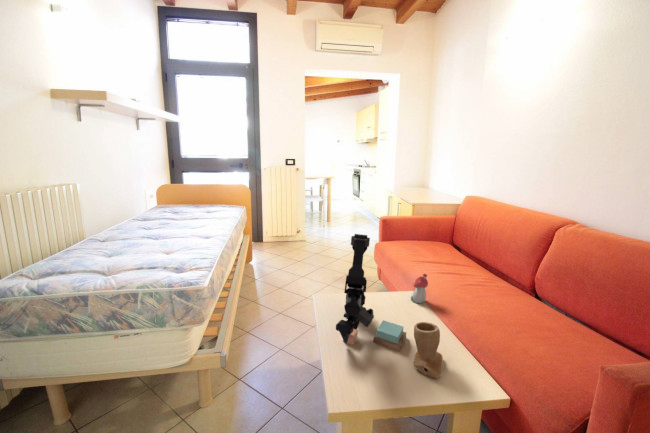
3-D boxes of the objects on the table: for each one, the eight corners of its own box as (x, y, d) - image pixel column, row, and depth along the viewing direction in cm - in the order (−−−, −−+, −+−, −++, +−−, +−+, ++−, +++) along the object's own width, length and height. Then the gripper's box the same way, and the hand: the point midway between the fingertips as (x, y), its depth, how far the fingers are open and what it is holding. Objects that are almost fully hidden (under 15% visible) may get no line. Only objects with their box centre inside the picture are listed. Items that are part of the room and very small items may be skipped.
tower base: (381, 330, 136) (381, 324, 136) (405, 338, 132) (406, 332, 131) (372, 343, 127) (373, 336, 126) (398, 352, 122) (399, 346, 121)
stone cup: (413, 347, 125) (417, 314, 122) (443, 357, 120) (449, 323, 117) (405, 370, 112) (410, 333, 108) (439, 382, 107) (445, 344, 103)
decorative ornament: (421, 296, 169) (425, 271, 166) (429, 302, 164) (433, 276, 160) (407, 299, 166) (411, 273, 163) (415, 305, 160) (419, 278, 157)
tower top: (382, 326, 134) (383, 320, 134) (402, 332, 130) (403, 326, 130) (376, 336, 127) (376, 330, 126) (397, 343, 123) (398, 337, 122)
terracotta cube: (347, 336, 130) (348, 326, 129) (357, 339, 128) (357, 330, 127) (342, 341, 126) (343, 331, 125) (352, 345, 124) (353, 335, 123)
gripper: (363, 319, 111) (359, 356, 115) (379, 299, 127) (376, 332, 131) (336, 310, 116) (333, 346, 120) (355, 292, 132) (352, 324, 136)
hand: (350, 336), depth 126 cm, fingers open, 9 cm apart
